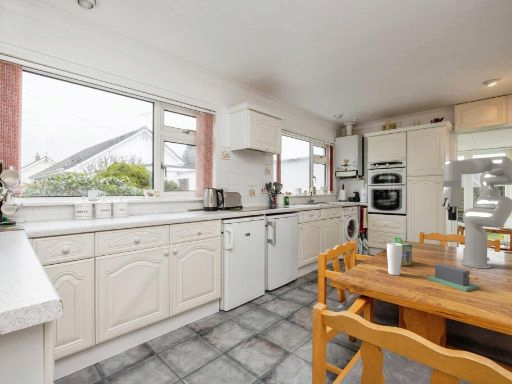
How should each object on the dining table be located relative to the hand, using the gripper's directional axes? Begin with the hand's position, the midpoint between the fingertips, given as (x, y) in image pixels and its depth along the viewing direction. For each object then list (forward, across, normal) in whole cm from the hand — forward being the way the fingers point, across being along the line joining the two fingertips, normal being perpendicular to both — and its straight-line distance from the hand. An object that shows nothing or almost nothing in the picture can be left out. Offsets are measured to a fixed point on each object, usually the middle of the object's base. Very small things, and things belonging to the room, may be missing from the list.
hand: (452, 220), depth 134 cm
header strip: (+26, +21, +11) cm, 35 cm away
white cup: (+25, +33, -8) cm, 42 cm away
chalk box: (+26, +14, -20) cm, 36 cm away
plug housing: (+24, +21, +13) cm, 34 cm away
